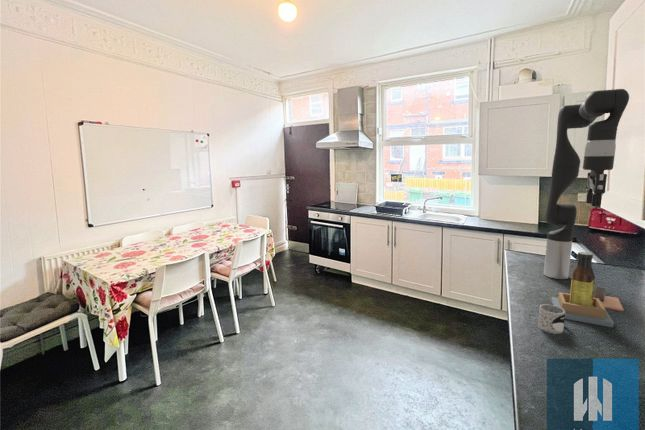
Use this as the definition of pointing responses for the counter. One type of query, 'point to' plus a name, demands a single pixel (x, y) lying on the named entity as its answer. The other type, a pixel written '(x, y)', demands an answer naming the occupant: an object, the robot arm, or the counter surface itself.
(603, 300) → the lid
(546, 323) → the mug
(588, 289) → the sauce bottle
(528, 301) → the counter surface
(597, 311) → the socket stand
